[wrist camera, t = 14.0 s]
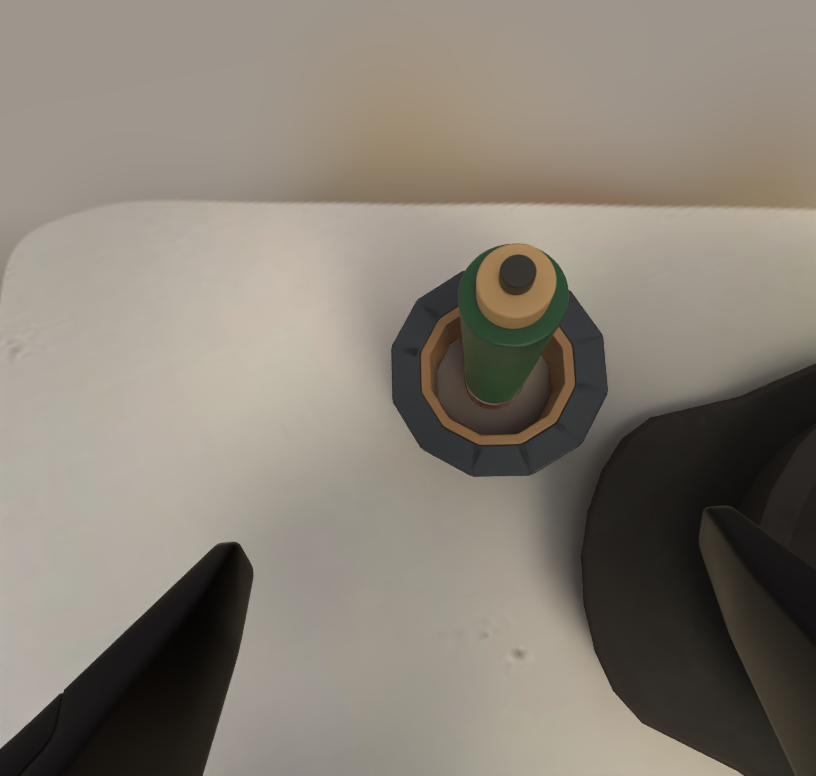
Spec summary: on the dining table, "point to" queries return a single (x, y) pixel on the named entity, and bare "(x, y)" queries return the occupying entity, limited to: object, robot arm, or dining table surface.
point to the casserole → (696, 561)
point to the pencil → (508, 319)
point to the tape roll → (504, 453)
